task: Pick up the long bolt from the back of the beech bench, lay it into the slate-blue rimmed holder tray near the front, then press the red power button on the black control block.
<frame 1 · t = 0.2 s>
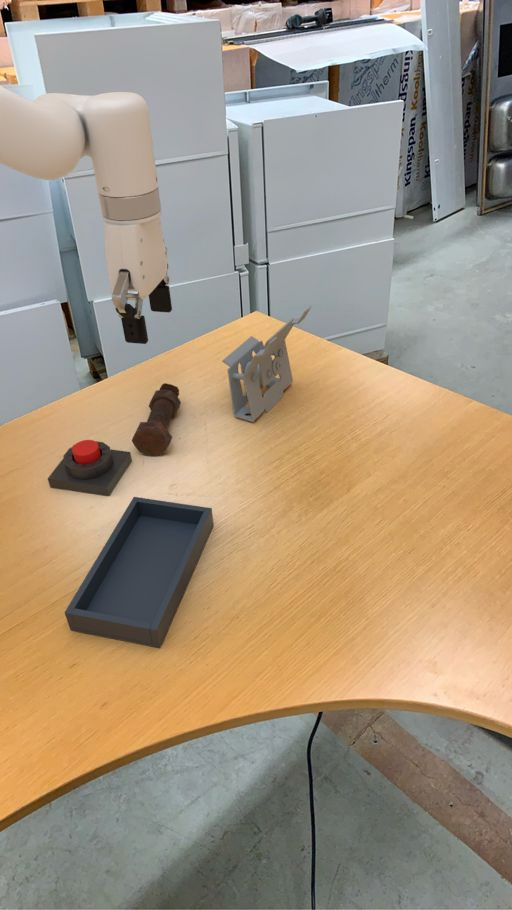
hand: (149, 326, 94), 16 cm above the table, tool pointing down, fingers open, 9 cm apart
power button: (86, 452, 91), point 4 cm above the table, slide at 0.1 cm
station: (92, 474, 94), on the table
holder: (147, 574, 78), on the table
bolt: (163, 427, 102), on the table
bracket: (266, 402, 107), on the table
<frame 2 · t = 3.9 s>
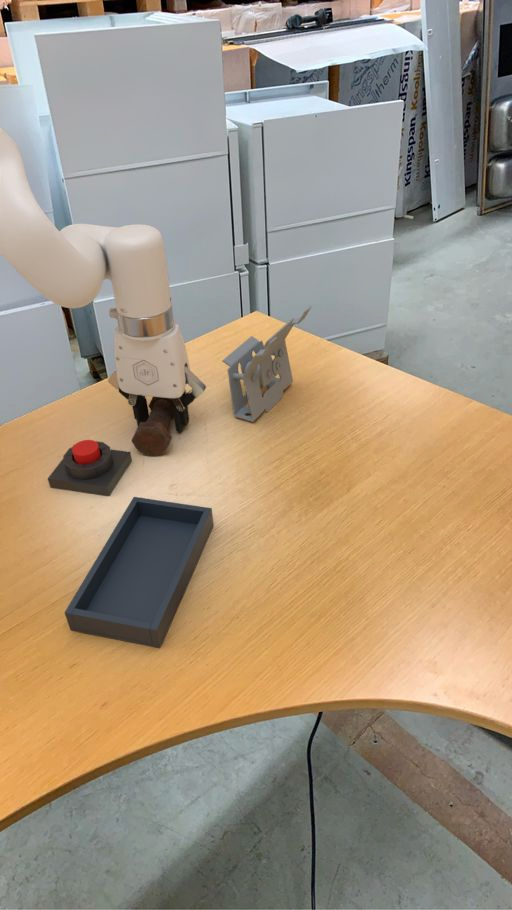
hand: (162, 424, 102), 1 cm above the table, tool pointing down, fingers closed on bolt, 5 cm apart
bolt: (163, 428, 102), on the table, touching gripper
everything else where it was.
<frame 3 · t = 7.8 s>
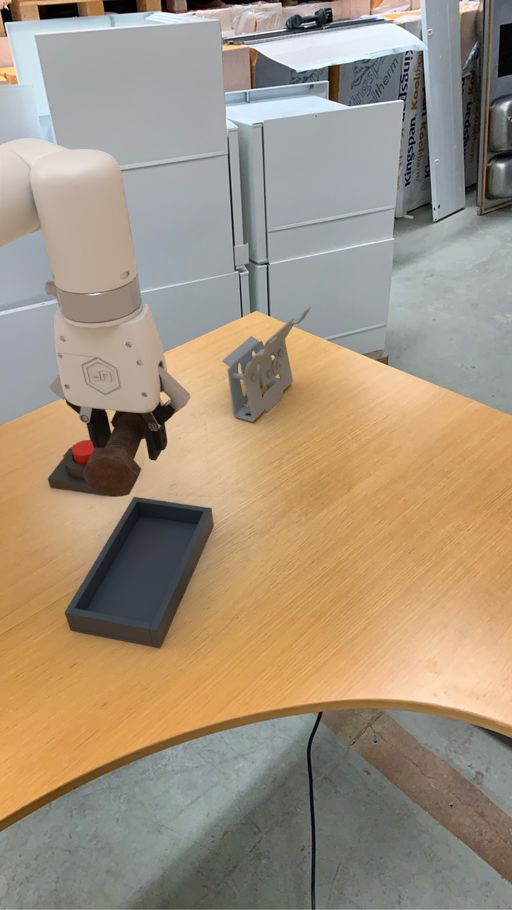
hand: (130, 448, 72), 16 cm above the table, tool pointing down, fingers closed on bolt, 5 cm apart
bolt: (132, 453, 73), point 15 cm above the table, touching gripper
everything else where it was.
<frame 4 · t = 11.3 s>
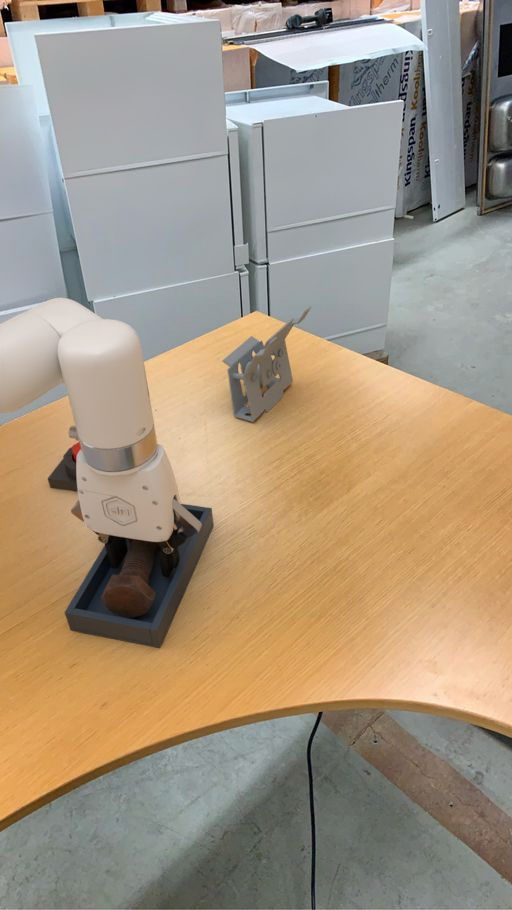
hand: (144, 563, 77), 2 cm above the table, tool pointing down, fingers closed on bolt, 5 cm apart
bolt: (146, 567, 77), point 1 cm above the table, touching gripper
everything else where it was.
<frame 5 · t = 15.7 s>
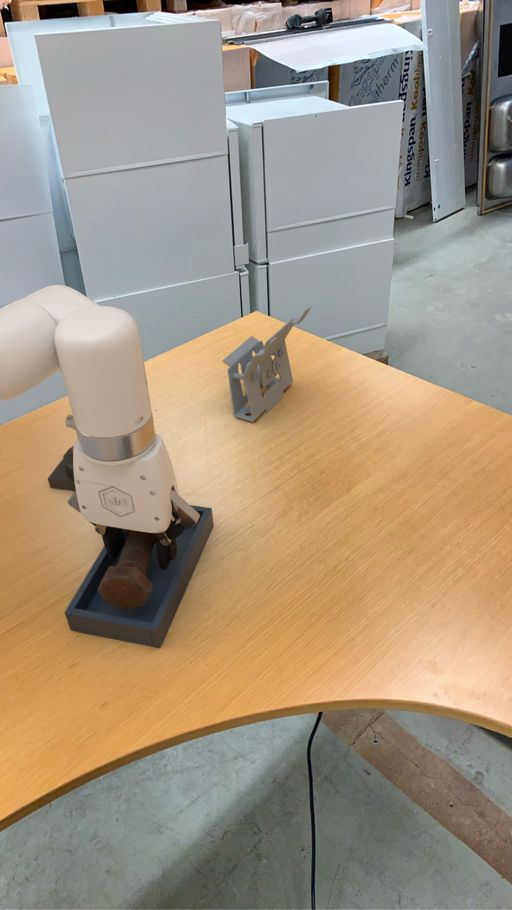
hand: (142, 555, 76), 3 cm above the table, tool pointing down, fingers closed on bolt, 5 cm apart
bolt: (143, 559, 77), point 2 cm above the table, touching gripper
everything else where it was.
when the fingers open (3 cm above the table, at t = 19.4 s): bolt drops 2 cm, resting on holder.
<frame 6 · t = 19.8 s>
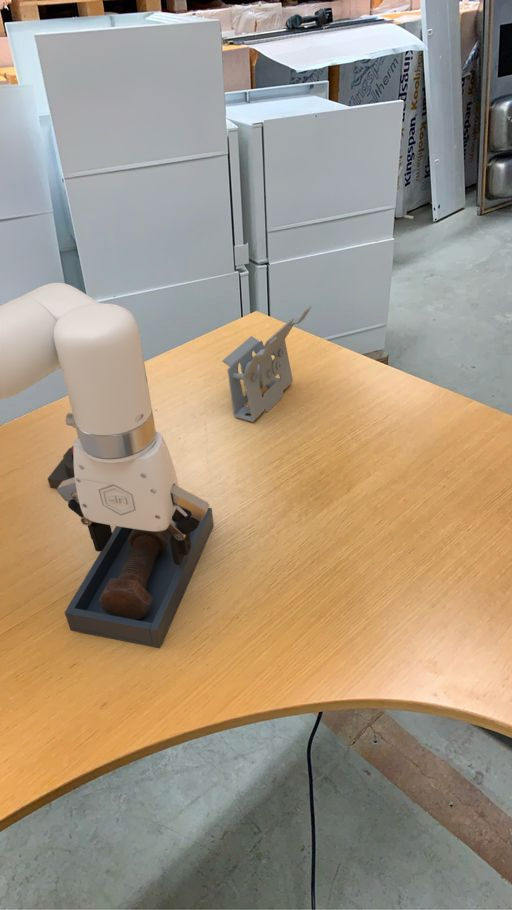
hand: (142, 549, 75), 4 cm above the table, tool pointing down, fingers open, 9 cm apart
bolt: (146, 571, 78), resting on holder
everything else where it was.
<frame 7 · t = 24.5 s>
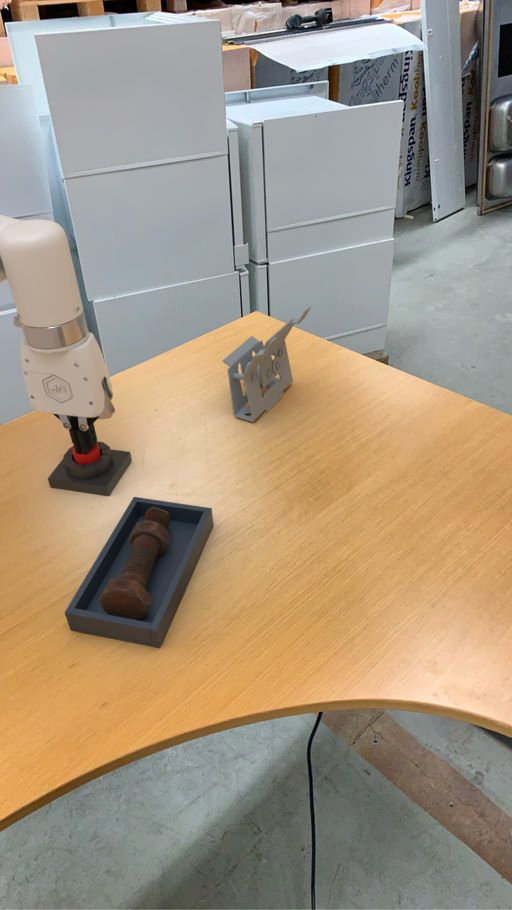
hand: (86, 447, 91), 5 cm above the table, tool pointing down, fingers closed
power button: (86, 452, 91), point 4 cm above the table, slide at 0.0 cm, touching gripper
everything else where it was.
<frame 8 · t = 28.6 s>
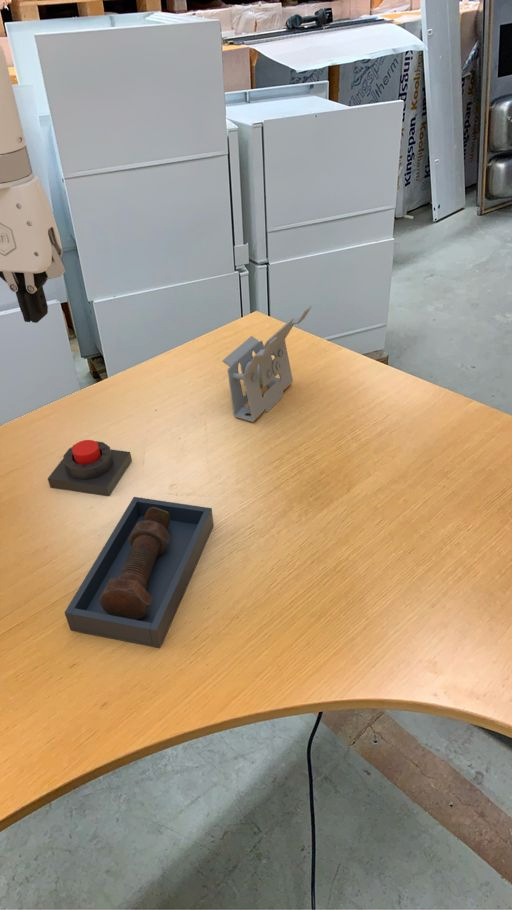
hand: (36, 317, 84), 22 cm above the table, tool pointing down, fingers closed
power button: (86, 452, 91), point 4 cm above the table, slide at 0.1 cm
everything else where it was.
at the end: bolt inside the target area in the holder (0.1 cm from its centre), point 0.4 cm above the holder's base; power button pushed in 1.1 cm at the most during the clip, back to where it started at the end; power button slide at 0.1 cm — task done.
